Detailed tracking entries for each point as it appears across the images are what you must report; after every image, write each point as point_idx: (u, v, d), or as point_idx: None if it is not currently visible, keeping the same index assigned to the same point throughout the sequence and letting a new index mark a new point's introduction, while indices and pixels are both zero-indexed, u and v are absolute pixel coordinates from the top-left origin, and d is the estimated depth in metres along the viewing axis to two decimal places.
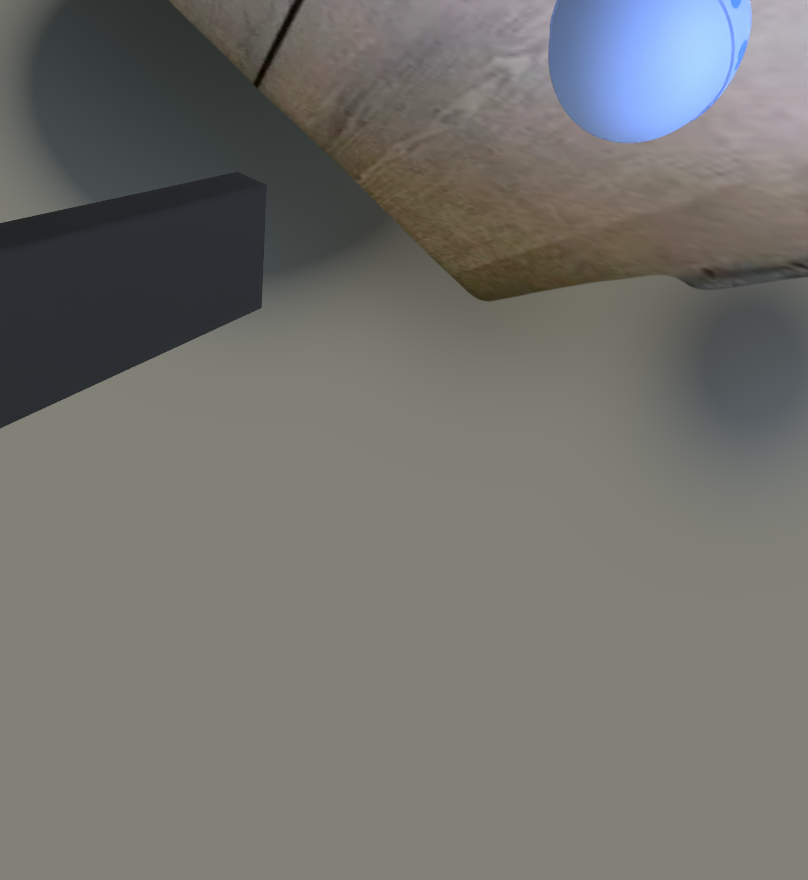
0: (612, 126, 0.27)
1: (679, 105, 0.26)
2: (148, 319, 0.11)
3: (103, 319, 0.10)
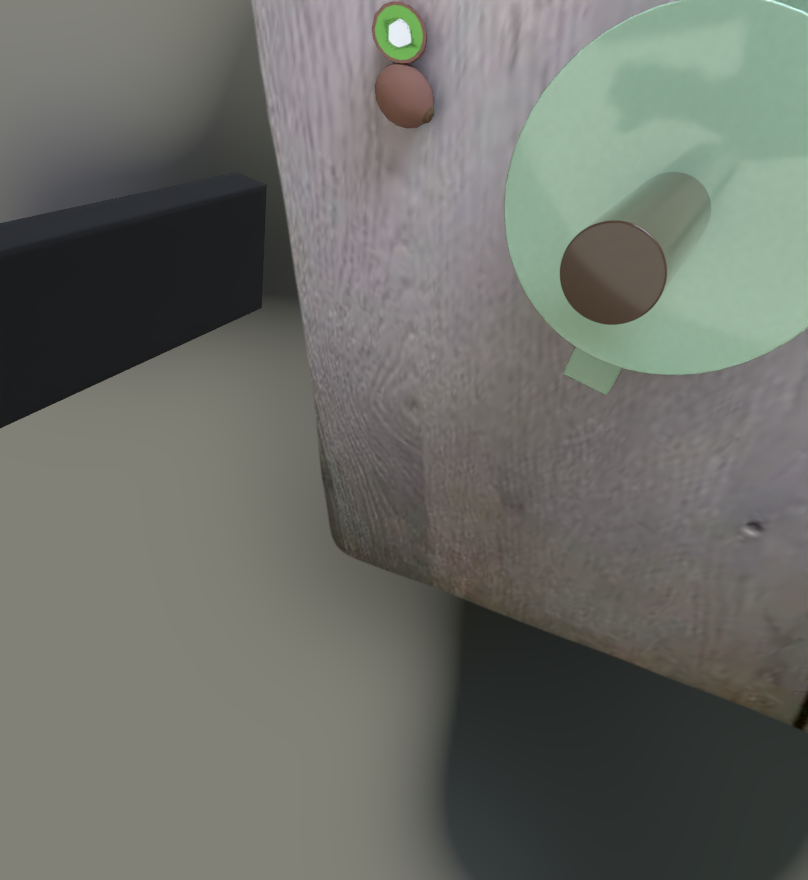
0: None
1: None
2: (148, 319, 0.11)
3: (103, 319, 0.10)
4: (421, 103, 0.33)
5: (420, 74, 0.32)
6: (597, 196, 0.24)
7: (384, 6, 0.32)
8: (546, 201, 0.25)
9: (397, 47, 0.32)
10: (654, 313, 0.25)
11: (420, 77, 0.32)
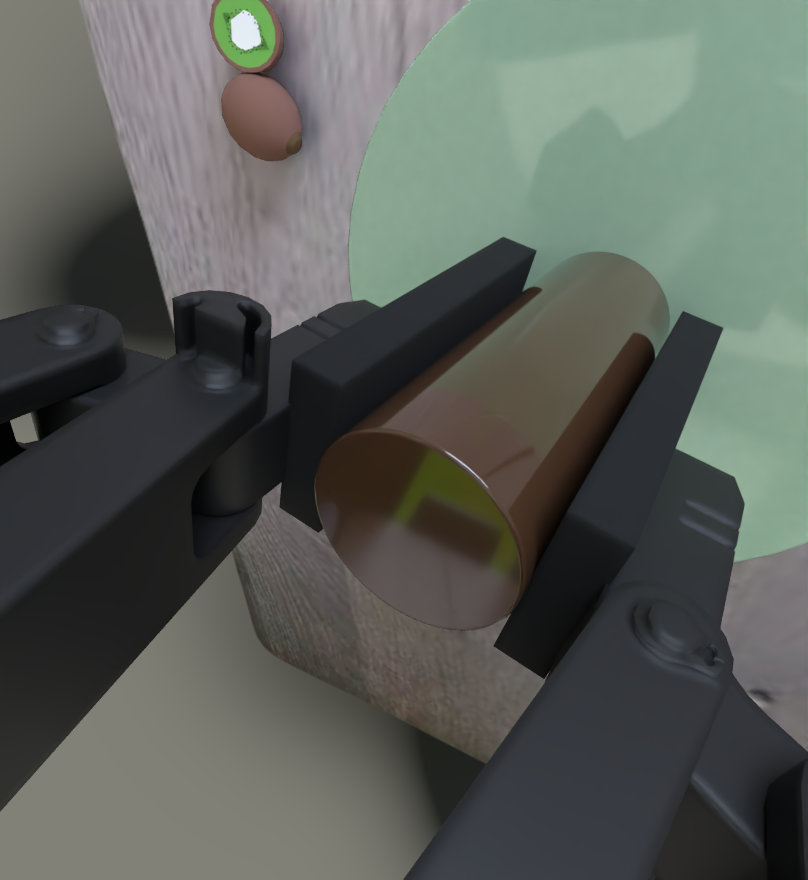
0: None
1: None
2: None
3: None
4: (280, 127, 0.23)
5: (278, 87, 0.23)
6: None
7: None
8: (409, 288, 0.15)
9: (244, 50, 0.23)
10: None
11: (277, 91, 0.23)
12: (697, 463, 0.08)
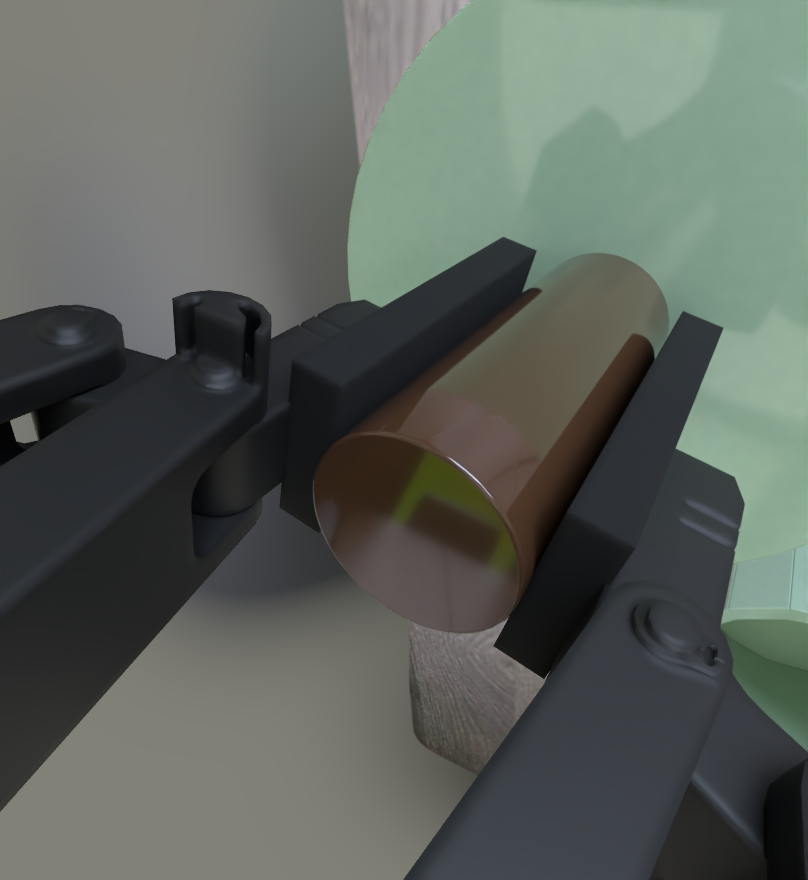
0: None
1: None
2: None
3: None
4: None
5: None
6: None
7: None
8: (408, 289, 0.15)
9: None
10: None
11: None
12: (697, 463, 0.08)
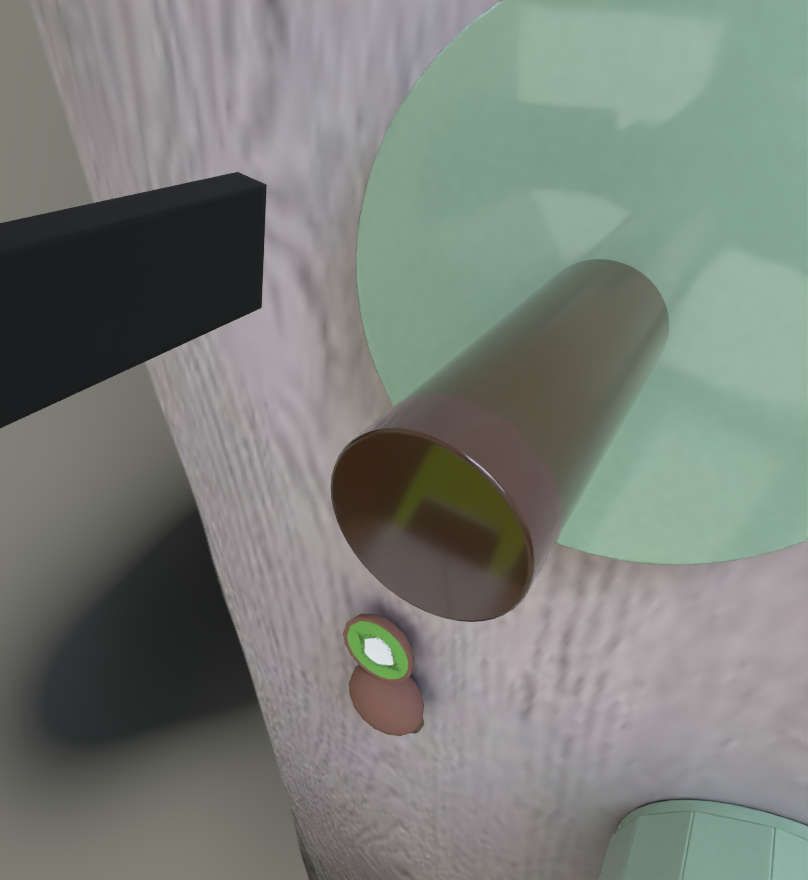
0: None
1: None
2: (148, 319, 0.11)
3: (103, 319, 0.10)
4: (407, 728, 0.25)
5: (406, 692, 0.25)
6: (487, 290, 0.14)
7: (358, 619, 0.25)
8: (415, 293, 0.15)
9: (376, 663, 0.25)
10: None
11: (406, 699, 0.25)
12: None
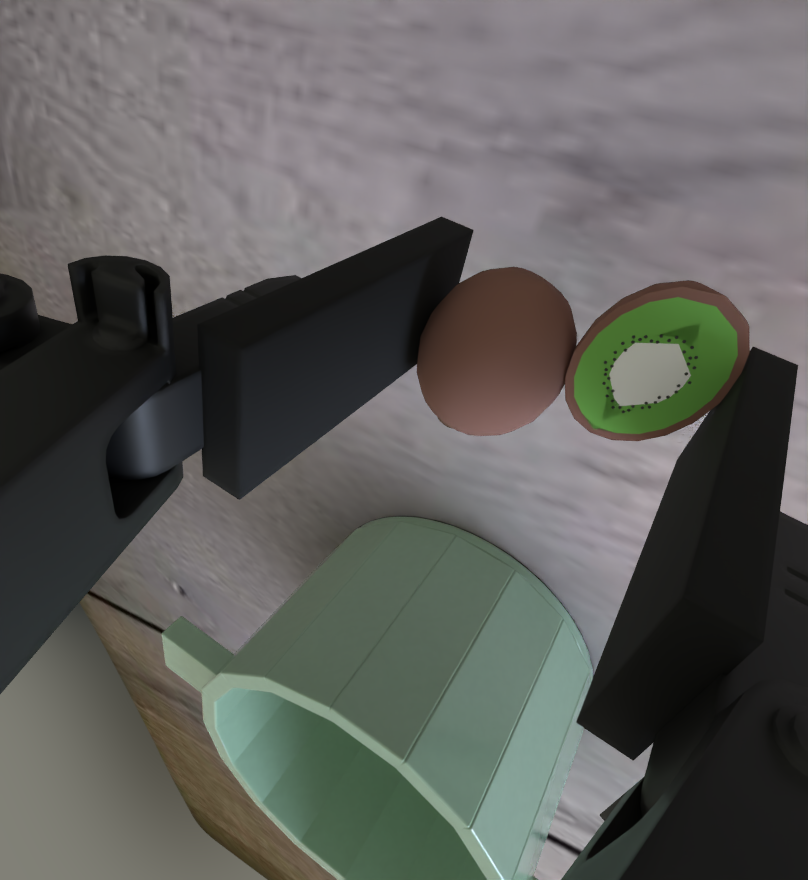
0: None
1: None
2: (376, 364, 0.11)
3: (351, 368, 0.10)
4: (464, 432, 0.12)
5: None
6: None
7: (741, 328, 0.09)
8: None
9: (609, 369, 0.11)
10: None
11: (528, 422, 0.12)
12: (790, 521, 0.08)
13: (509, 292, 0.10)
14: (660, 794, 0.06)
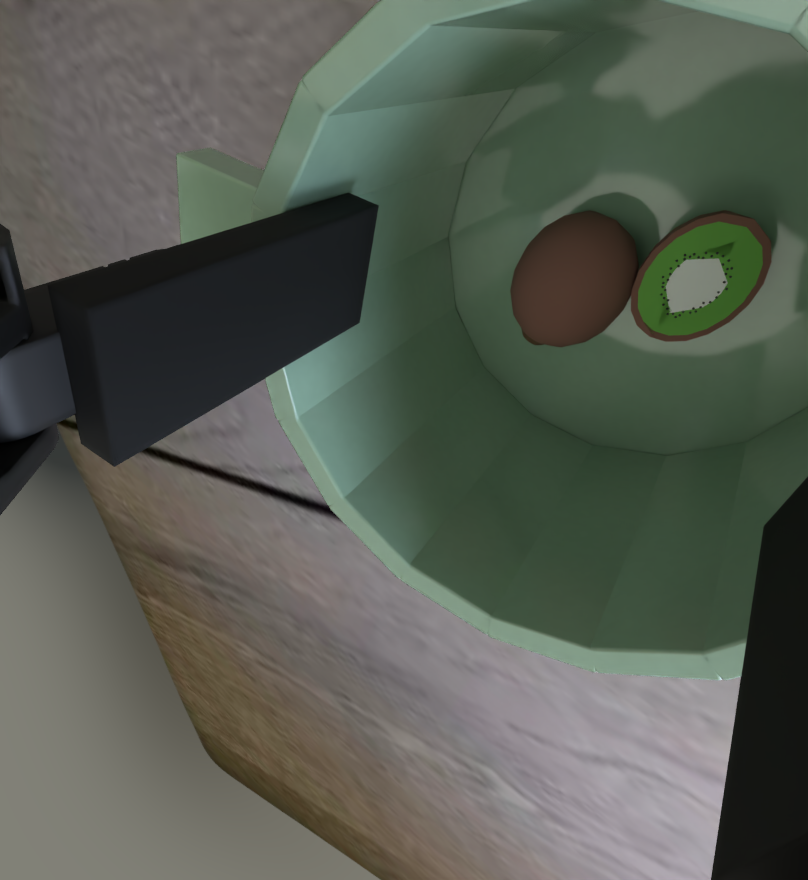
0: None
1: None
2: (273, 337, 0.11)
3: (240, 339, 0.10)
4: (549, 343, 0.16)
5: (607, 326, 0.16)
6: None
7: (765, 243, 0.13)
8: None
9: (665, 282, 0.14)
10: None
11: (600, 332, 0.15)
12: None
13: (590, 227, 0.14)
14: None
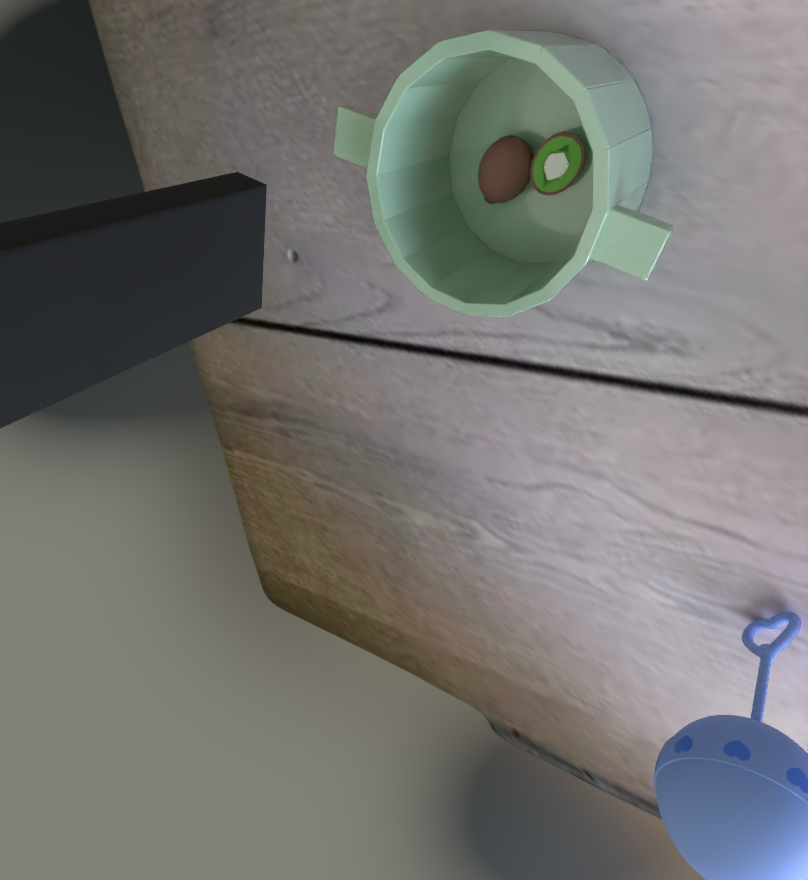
0: None
1: None
2: (148, 319, 0.11)
3: (102, 319, 0.10)
4: (495, 200, 0.34)
5: (522, 190, 0.34)
6: None
7: (580, 144, 0.31)
8: None
9: (543, 165, 0.32)
10: None
11: (518, 193, 0.34)
12: None
13: (510, 141, 0.32)
14: None
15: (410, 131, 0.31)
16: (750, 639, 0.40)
